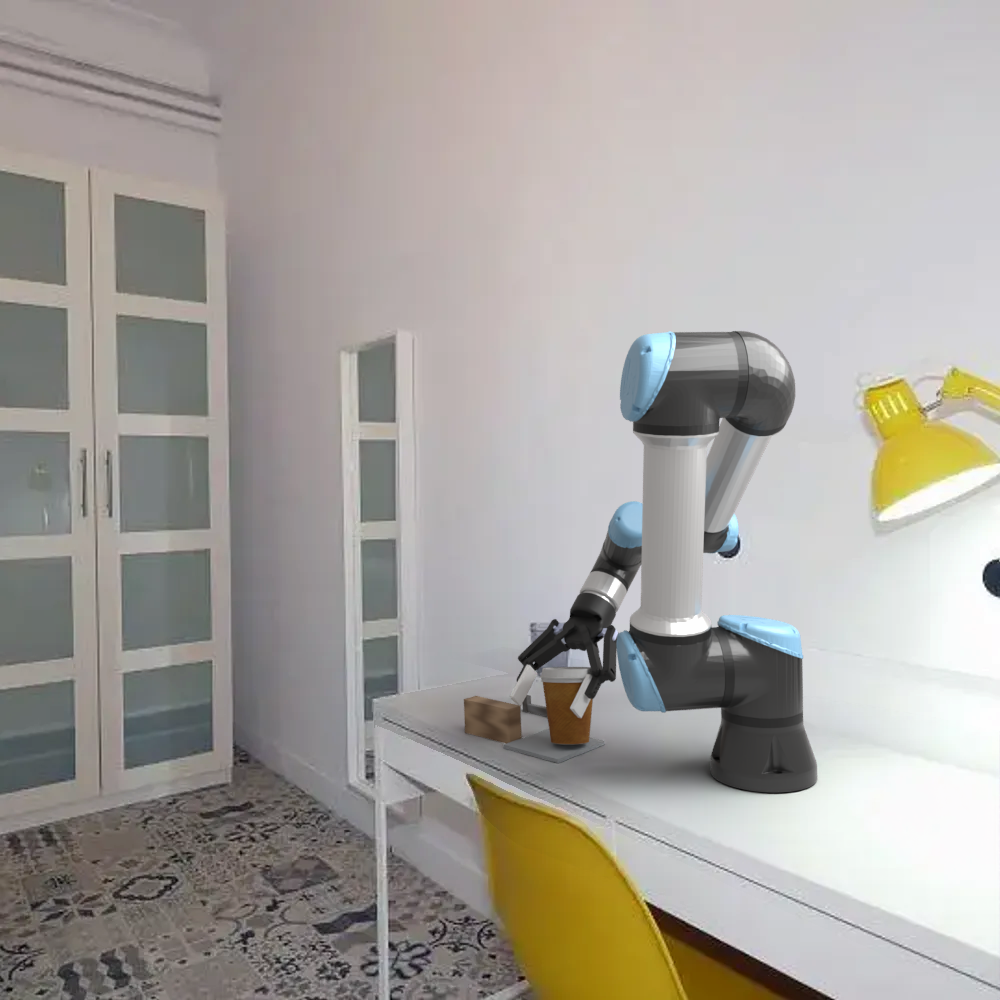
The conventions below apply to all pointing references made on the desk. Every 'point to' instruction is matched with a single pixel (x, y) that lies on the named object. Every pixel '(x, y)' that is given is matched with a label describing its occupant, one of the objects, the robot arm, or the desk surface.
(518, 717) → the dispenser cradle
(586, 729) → the disposable coffee cup
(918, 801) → the desk surface
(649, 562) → the robot arm
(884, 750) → the desk surface
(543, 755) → the grey mat
